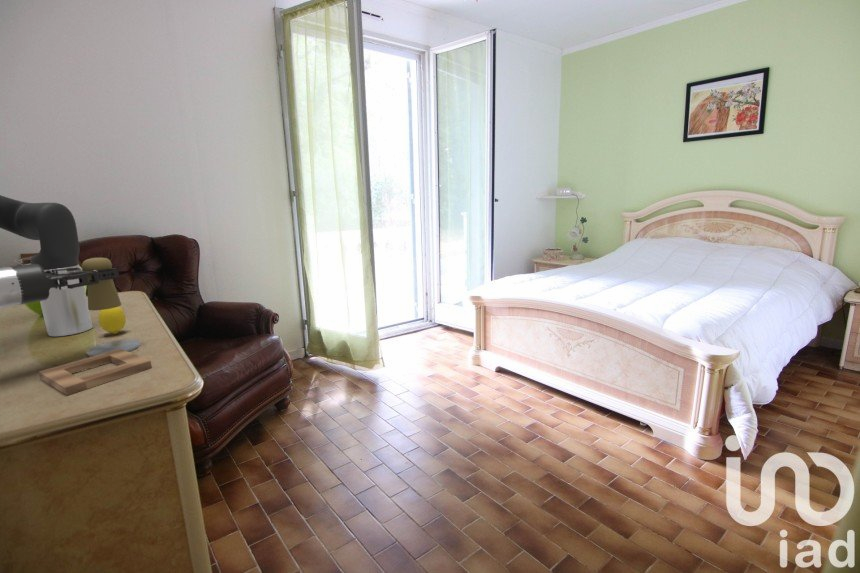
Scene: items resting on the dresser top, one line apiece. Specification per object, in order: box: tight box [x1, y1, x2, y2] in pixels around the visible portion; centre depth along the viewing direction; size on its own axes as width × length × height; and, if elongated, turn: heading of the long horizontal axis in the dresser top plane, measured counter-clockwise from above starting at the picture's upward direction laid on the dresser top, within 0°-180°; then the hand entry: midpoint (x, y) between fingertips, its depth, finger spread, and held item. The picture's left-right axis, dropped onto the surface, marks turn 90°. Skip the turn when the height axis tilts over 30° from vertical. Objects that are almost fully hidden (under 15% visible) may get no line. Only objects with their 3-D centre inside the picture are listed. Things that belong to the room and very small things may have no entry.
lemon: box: [98, 306, 127, 335], centre depth 110 cm, size 6×6×8 cm
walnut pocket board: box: [38, 349, 153, 396], centre depth 86 cm, size 14×14×2 cm
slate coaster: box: [86, 338, 142, 357], centre depth 100 cm, size 10×10×1 cm
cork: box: [81, 257, 122, 311], centre depth 96 cm, size 6×6×11 cm
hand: (112, 271), depth 98 cm, fingers closed on cork, 5 cm apart
